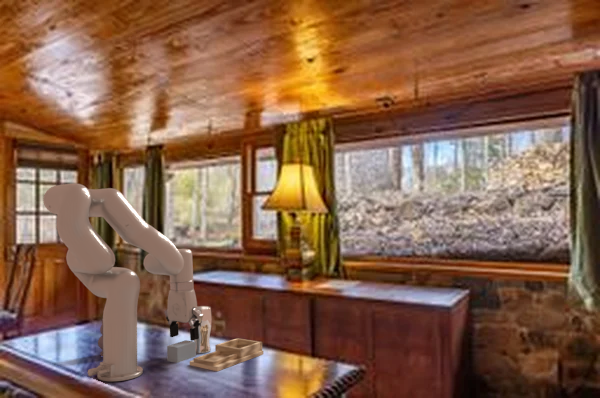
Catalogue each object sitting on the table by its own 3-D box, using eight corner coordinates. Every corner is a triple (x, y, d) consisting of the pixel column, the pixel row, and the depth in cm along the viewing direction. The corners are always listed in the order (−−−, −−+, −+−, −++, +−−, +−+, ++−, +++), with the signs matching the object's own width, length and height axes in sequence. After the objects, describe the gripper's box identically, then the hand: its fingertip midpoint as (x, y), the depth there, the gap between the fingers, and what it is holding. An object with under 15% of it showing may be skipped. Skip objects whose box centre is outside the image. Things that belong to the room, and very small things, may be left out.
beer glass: (214, 348, 178) (213, 306, 178) (208, 354, 171) (208, 309, 171) (194, 348, 178) (194, 306, 179) (188, 353, 172) (188, 309, 172)
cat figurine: (128, 354, 172) (128, 319, 173) (108, 360, 166) (108, 323, 166) (113, 351, 177) (112, 316, 177) (92, 356, 170) (92, 320, 171)
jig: (217, 371, 151) (217, 357, 151) (189, 365, 158) (189, 352, 158) (263, 354, 169) (263, 342, 170) (236, 349, 176) (236, 338, 176)
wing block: (177, 363, 161) (177, 347, 161) (167, 361, 163) (167, 345, 164) (195, 356, 168) (195, 341, 169) (185, 355, 171) (185, 340, 171)
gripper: (155, 286, 169) (158, 337, 169) (191, 289, 159) (194, 344, 159) (173, 283, 175) (175, 332, 175) (208, 286, 165) (211, 338, 165)
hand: (184, 337), depth 167 cm, fingers open, 9 cm apart
